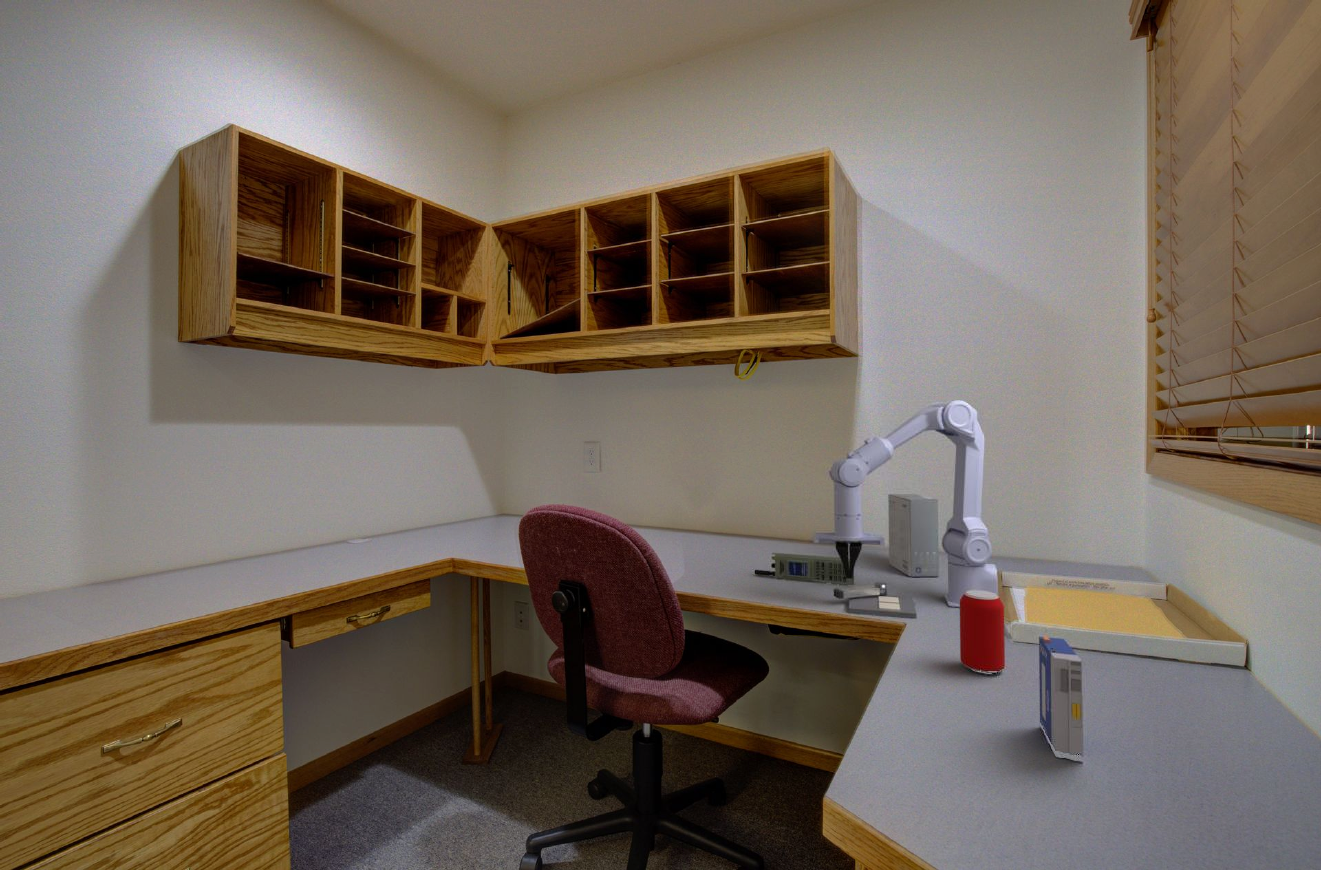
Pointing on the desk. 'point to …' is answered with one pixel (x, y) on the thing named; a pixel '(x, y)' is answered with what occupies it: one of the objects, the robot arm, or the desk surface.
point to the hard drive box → (913, 534)
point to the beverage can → (982, 631)
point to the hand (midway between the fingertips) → (849, 577)
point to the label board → (883, 605)
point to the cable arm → (861, 591)
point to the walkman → (1061, 695)
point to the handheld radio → (808, 569)
